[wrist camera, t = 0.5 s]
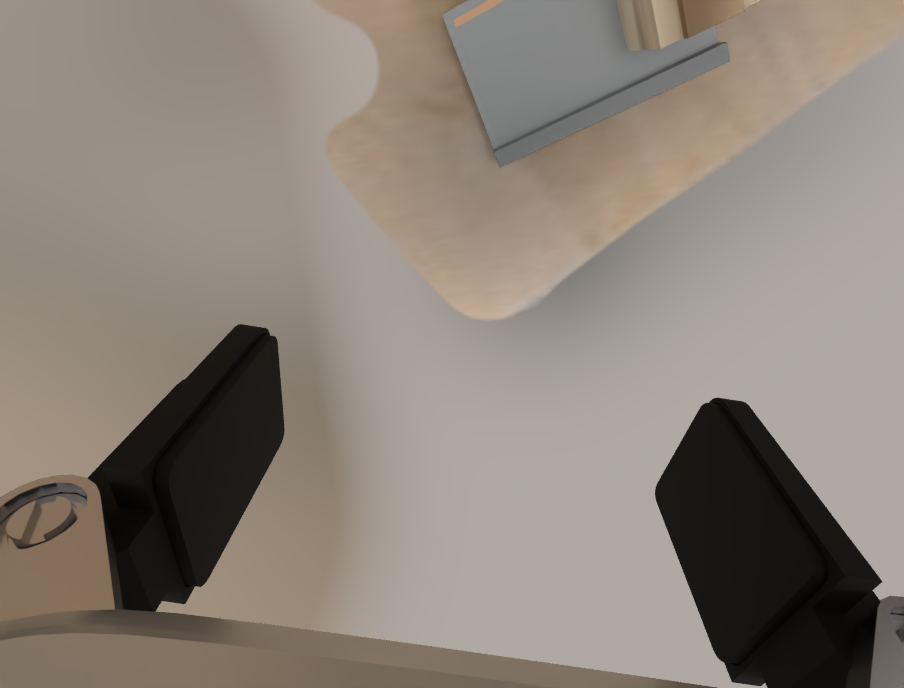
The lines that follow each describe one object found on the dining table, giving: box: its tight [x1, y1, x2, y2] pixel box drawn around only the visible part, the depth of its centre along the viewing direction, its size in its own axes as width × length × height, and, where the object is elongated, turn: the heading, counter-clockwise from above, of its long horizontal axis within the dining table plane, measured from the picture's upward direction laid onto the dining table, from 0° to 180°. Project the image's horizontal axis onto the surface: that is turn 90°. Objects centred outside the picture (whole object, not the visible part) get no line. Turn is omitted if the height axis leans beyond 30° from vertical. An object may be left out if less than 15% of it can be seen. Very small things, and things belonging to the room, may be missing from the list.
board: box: [442, 0, 730, 167], centre depth 27 cm, size 14×9×3 cm, turn 115°
